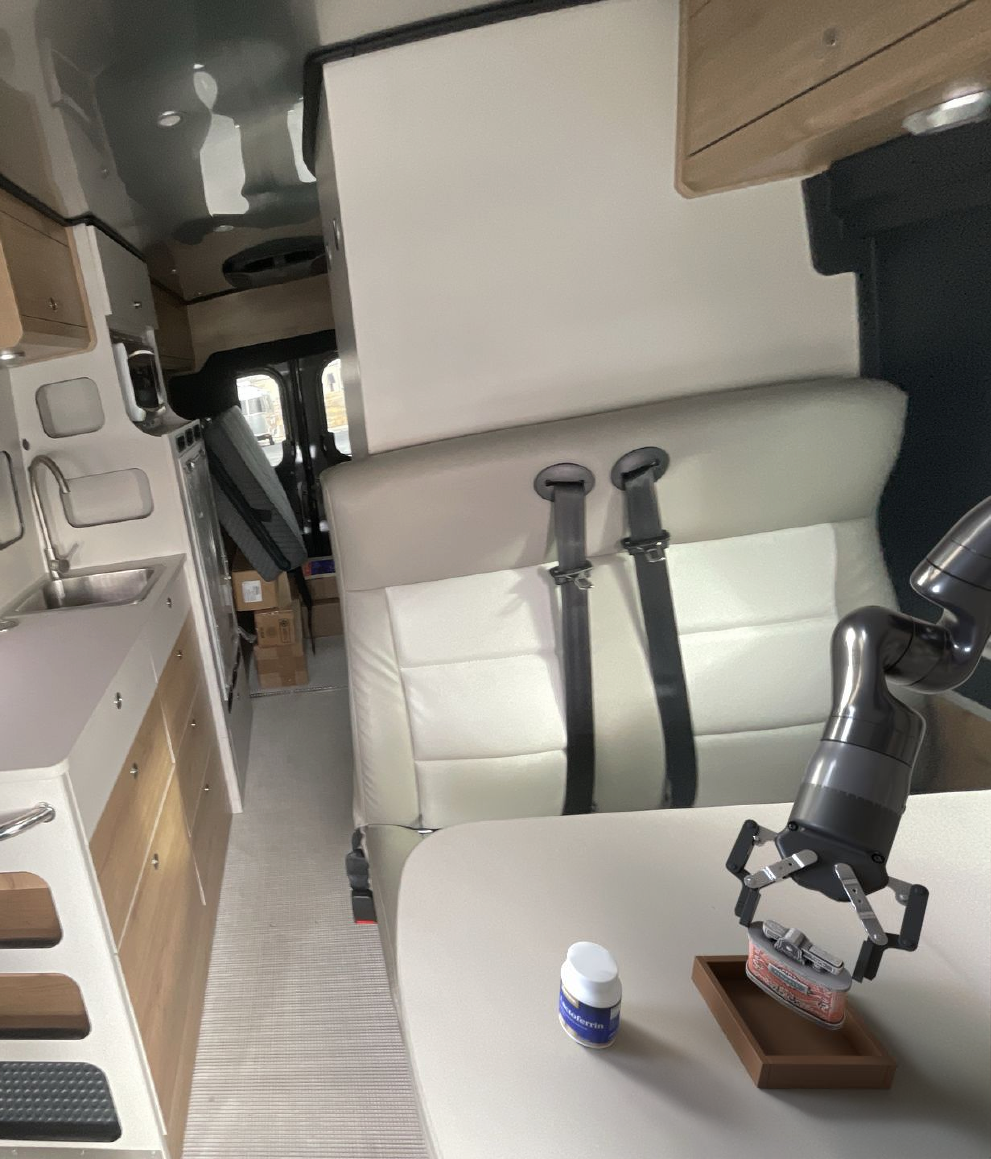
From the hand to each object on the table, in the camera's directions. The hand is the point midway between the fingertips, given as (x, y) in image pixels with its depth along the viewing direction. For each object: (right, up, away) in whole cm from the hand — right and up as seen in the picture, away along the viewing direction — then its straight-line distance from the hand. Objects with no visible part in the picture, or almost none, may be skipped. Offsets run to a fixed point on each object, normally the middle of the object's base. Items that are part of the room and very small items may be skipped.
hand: (797, 952), depth 64 cm
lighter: (+3, -6, +4) cm, 8 cm away
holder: (+3, -11, +5) cm, 12 cm away
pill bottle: (-16, -13, +8) cm, 22 cm away
